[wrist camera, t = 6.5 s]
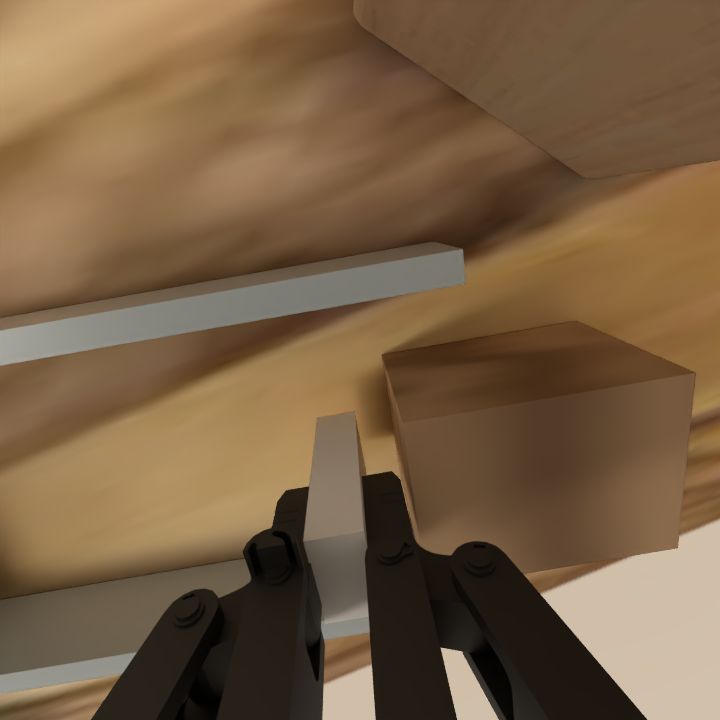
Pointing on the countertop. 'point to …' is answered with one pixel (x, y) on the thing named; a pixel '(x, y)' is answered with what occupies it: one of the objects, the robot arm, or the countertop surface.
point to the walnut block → (542, 445)
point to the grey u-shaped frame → (154, 320)
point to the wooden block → (575, 72)
